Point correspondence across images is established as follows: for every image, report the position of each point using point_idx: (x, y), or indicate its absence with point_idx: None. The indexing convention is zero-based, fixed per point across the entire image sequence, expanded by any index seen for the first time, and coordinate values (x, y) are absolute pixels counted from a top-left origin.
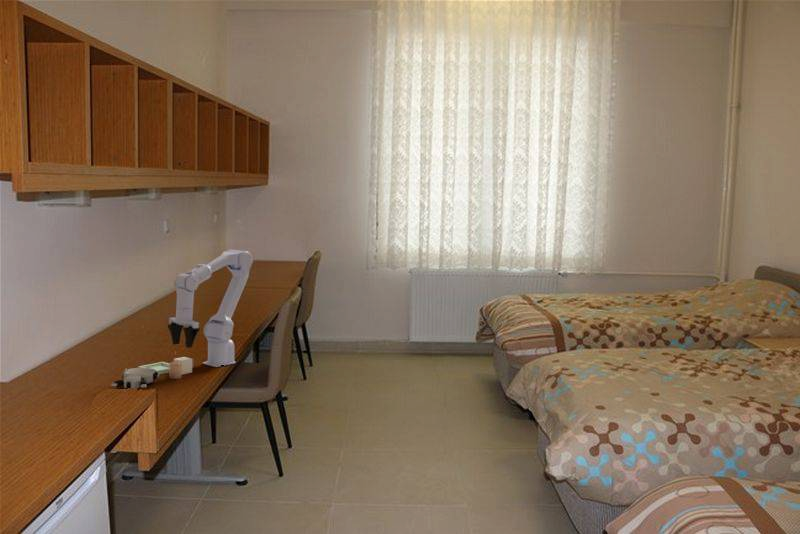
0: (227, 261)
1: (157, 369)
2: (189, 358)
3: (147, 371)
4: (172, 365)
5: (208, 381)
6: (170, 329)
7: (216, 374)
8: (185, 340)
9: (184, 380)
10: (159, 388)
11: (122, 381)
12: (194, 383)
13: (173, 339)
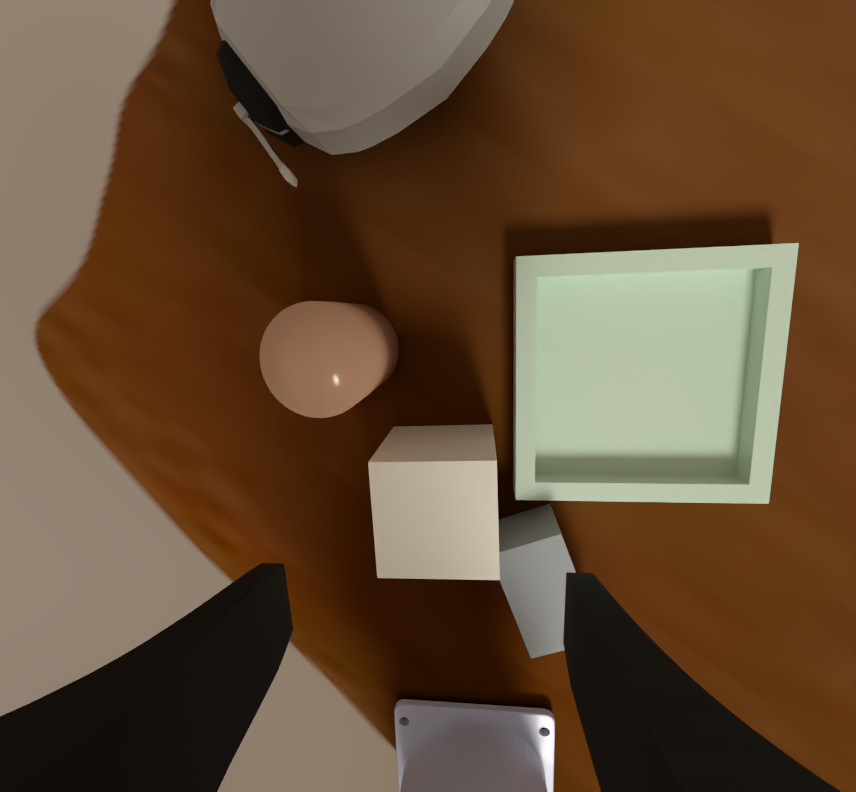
0: None
1: (637, 364)
2: (403, 568)
3: (300, 14)
4: (291, 308)
5: (123, 446)
6: (754, 785)
7: None
8: (221, 621)
9: (238, 345)
10: (151, 75)
11: None
12: (130, 349)
13: (587, 616)
